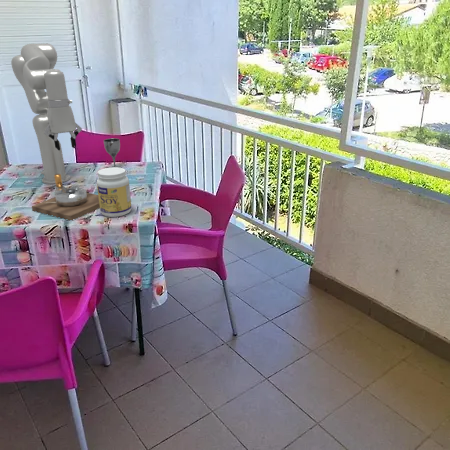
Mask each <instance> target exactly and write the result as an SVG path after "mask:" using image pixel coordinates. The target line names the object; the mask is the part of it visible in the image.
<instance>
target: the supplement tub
mask: <svg viewBox="0 0 450 450" xmlns="http://www.w3.org/2000/svg"><path fill="white" fill-rule="evenodd" d="M96 188H97V195H98V197H99V205H100V208H99V210H100V213H101V214H102V216H104V217H110V218H117V217H122V216H125V215H128V214H129V213H130V212H131V211H132V208H133V207H132V199H131V190H130V180H129V177H128V176H127V173H126V169H125V168H123V167H122V168H118V167H113V166H111V168H110V167H106V168H101V169H100V170H97V180H96Z"/></svg>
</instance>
